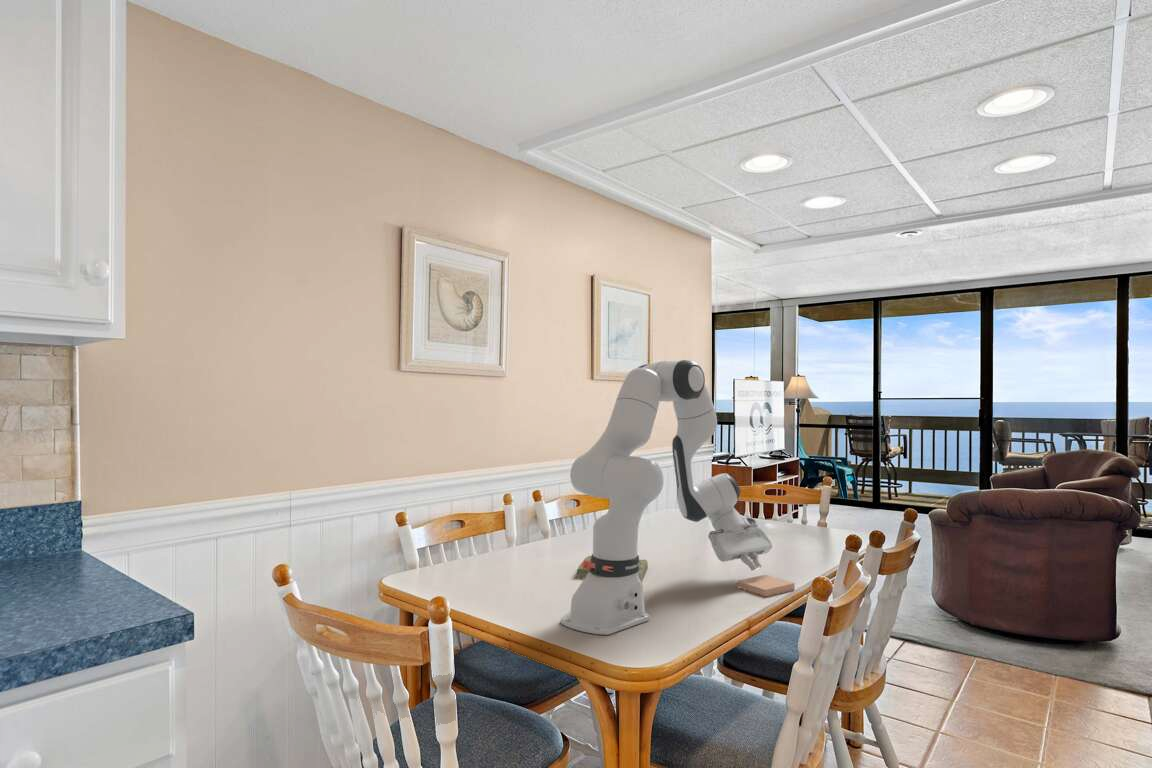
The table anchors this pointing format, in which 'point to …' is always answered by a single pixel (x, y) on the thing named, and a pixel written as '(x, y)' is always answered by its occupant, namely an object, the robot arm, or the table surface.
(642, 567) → the decorative tile
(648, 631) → the table surface
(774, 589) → the glazed tile
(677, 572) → the table surface
